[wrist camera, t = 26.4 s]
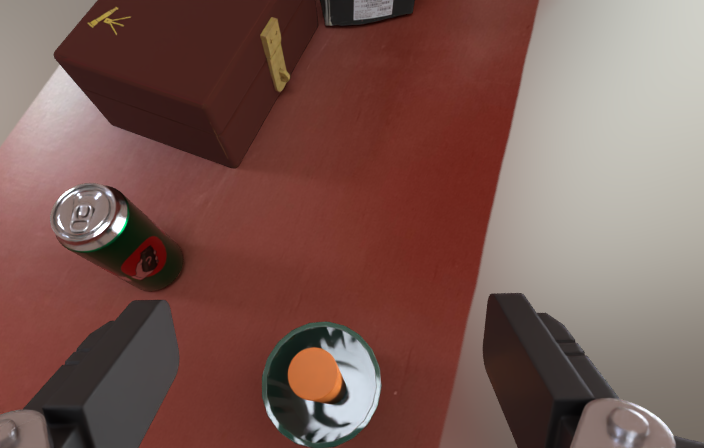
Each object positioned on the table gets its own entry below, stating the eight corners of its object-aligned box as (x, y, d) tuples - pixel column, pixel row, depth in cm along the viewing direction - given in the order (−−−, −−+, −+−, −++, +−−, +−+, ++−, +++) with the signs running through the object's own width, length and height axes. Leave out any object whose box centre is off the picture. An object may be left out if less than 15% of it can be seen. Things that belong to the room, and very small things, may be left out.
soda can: (189, 239, 42) (128, 177, 30) (181, 292, 40) (112, 246, 29) (135, 239, 42) (54, 177, 31) (124, 292, 40) (34, 247, 29)
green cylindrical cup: (388, 414, 36) (400, 416, 25) (306, 452, 35) (285, 470, 24) (354, 332, 38) (353, 304, 28) (276, 365, 37) (246, 348, 27)
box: (248, 174, 44) (220, 112, 35) (108, 123, 47) (47, 53, 37) (330, 26, 52) (324, -57, 42) (205, -11, 54) (174, -97, 45)
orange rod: (314, 402, 35) (283, 397, 21) (318, 371, 36) (291, 344, 22) (344, 405, 35) (335, 402, 21) (347, 374, 36) (340, 349, 21)
